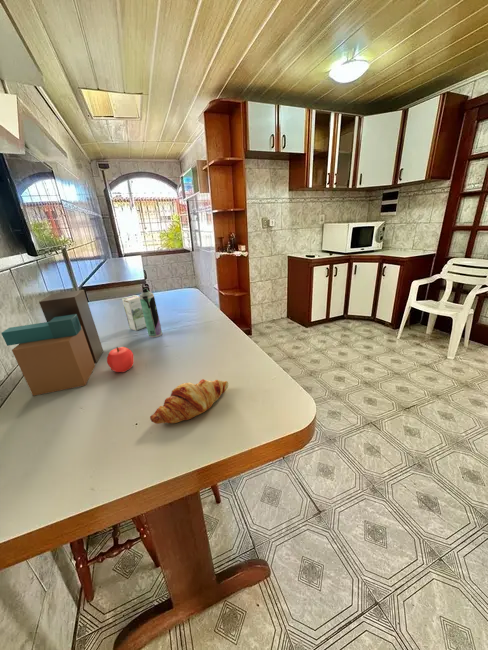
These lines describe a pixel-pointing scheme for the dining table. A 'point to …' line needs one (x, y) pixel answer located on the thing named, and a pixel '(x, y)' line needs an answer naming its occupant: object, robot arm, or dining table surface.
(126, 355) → the apple
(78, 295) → the stand
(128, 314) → the syrup box
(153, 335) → the spray can
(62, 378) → the carton
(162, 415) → the croissant
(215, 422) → the dining table surface
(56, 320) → the teal stepped bar
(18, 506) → the dining table surface
